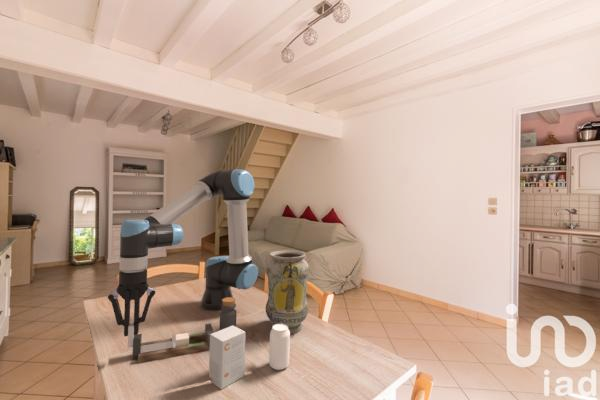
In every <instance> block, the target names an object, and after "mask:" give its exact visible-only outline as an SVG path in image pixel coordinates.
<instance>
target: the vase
mask: <svg viewBox="0 0 600 400" xmlns="http://www.w3.org/2000/svg"><path fill="white" fill-rule="evenodd" d="M269 256H270V258H271V259H270V260H269V261H268V262H267V264H266V265H265V274H266V277H267V285H268V287H267V290H268V293H267V294H268V297H267V301H266V304H265V314H266V317H267V318H268V319H269V321H270V322H271V324H270V328H271V329H272V327H273V326H274V325H275V324H285V325H287V326H288V329H289V331H290V335H291V334H295V333H299V332H300V331H301V330H302V329H303V324H302V323H303V322H304V321H305V320H306V318H307V317H308V314H309V310H310V309H309V303H308V299H307V287H308V286H307V285H308V277H309V274H310V265H309V264H308V262H307V260H305V259H304V258H305V257H306V254H305V252H304V251H299V250H287V249H285V250H276V251H275V250H274V251H271V252H270V253H269Z"/></svg>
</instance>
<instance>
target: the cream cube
mask: <svg viewBox="0 0 600 400" xmlns="http://www.w3.org/2000/svg"><path fill="white" fill-rule="evenodd" d="M189 335H190V333H189V332H184V333H178V334H177V333H176V347H181V346H187V345H189Z"/></svg>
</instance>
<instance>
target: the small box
mask: <svg viewBox="0 0 600 400" xmlns="http://www.w3.org/2000/svg"><path fill="white" fill-rule="evenodd" d="M208 356H209V359H208V360H209V361H208V363H209V364H208V377H209V378H210V379H209V381H210V382H211V383H212V384H214V386H216V387H218V389H220V390H222V389H225V388H226V387H228V386H230V385H231V384H233V383H234V382H236V381H238V380H240V379H242V378H243V377H245V369H246V368H245V367H246V365H245V364H246V331H245V330H243V329H241V328H239V327H237V326H236V327H235V326H233V325H232V326H230V327H227V328H225V329H222V330H220V331H219V330H218V331H214V333H212V334H210V350H209V355H208Z"/></svg>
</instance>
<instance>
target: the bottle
mask: <svg viewBox="0 0 600 400" xmlns="http://www.w3.org/2000/svg"><path fill="white" fill-rule="evenodd" d="M222 303H223V304H222V305H221V308H222V309H221V310H220V312H219V328H218V329H219V330H218V331H220V330H222V329H225V328H227V327H230V326H232V325H233V326H235V327H237V316H238V315H237V313H238V312H237V310H236V309H235V308H236V307H237V304H236V298H235V297H233V298H232V297H227V298H224V299H222Z"/></svg>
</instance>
